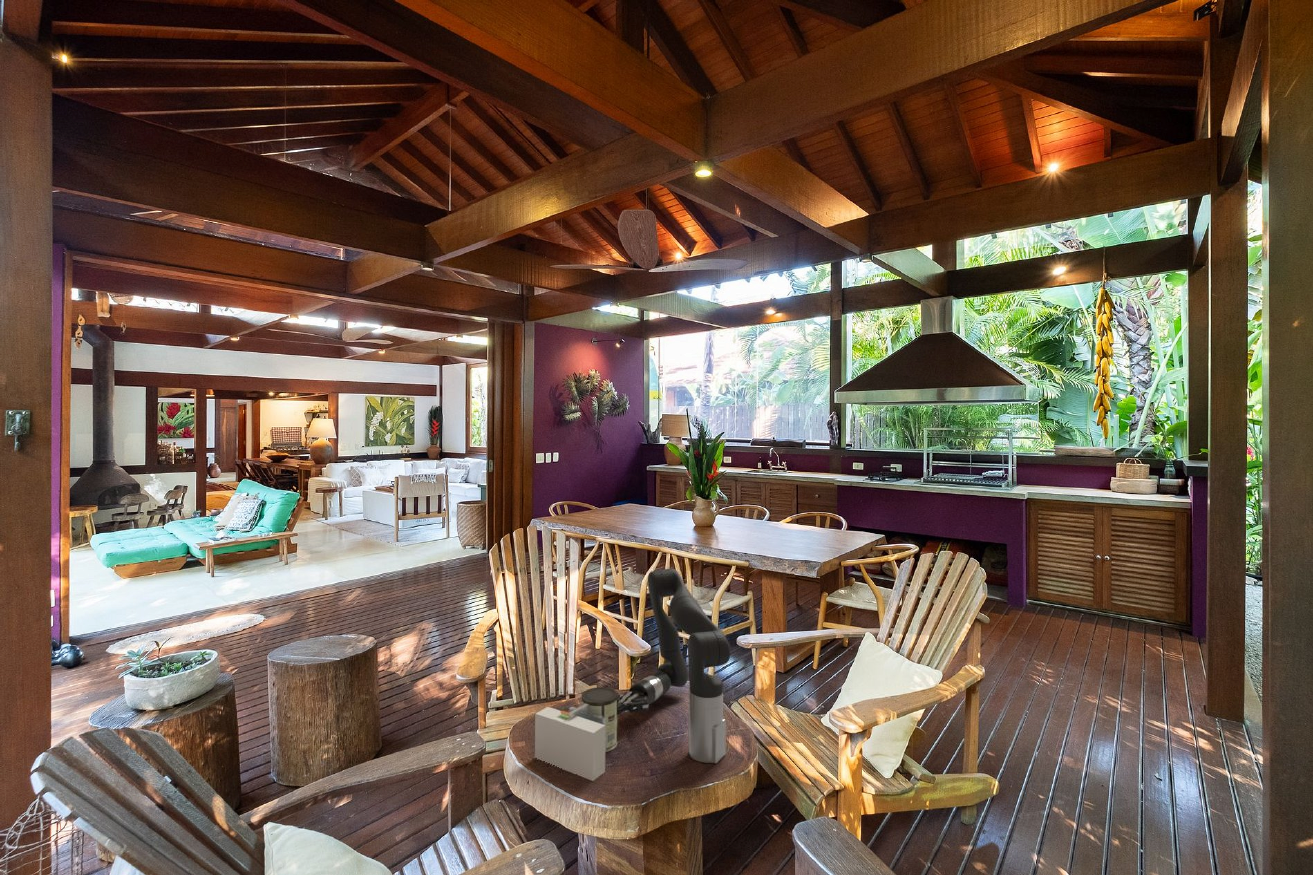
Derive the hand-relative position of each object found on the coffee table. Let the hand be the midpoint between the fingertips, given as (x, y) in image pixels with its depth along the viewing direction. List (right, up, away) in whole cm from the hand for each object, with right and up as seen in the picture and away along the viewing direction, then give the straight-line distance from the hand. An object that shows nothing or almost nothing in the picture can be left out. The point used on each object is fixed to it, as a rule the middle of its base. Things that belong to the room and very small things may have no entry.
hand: (614, 711), depth 173 cm
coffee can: (-4, -7, -6) cm, 10 cm away
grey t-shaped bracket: (-9, -4, -14) cm, 17 cm away
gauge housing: (-11, -6, -17) cm, 21 cm away
